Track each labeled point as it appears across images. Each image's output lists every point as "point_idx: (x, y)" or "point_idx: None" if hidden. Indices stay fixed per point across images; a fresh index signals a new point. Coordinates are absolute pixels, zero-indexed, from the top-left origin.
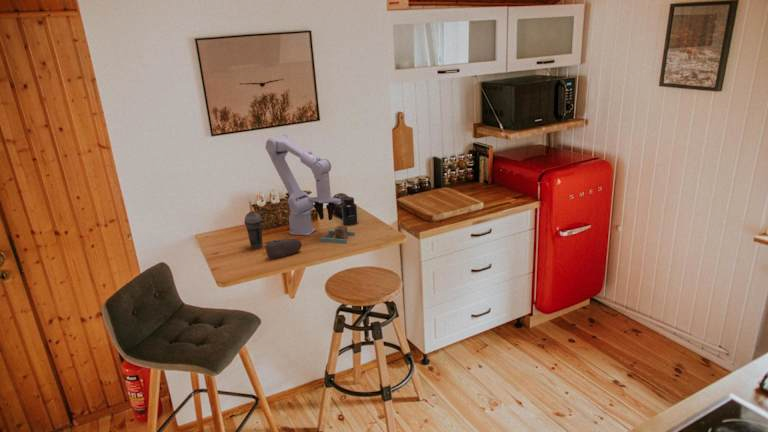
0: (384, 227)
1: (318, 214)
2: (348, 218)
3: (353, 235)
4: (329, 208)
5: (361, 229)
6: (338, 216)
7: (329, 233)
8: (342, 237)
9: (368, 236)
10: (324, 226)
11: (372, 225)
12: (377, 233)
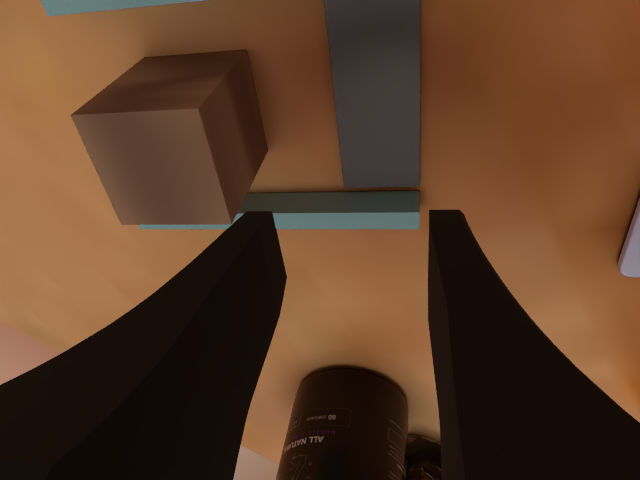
0: None
1: (498, 276)
2: (324, 420)
3: None
4: (27, 398)
5: None
6: None
7: (410, 194)
8: (144, 70)
9: (34, 208)
10: (548, 337)
11: None
12: (29, 270)
